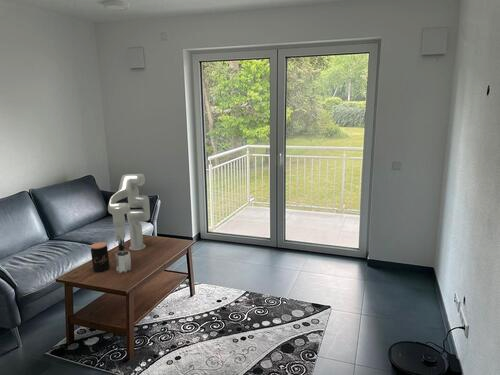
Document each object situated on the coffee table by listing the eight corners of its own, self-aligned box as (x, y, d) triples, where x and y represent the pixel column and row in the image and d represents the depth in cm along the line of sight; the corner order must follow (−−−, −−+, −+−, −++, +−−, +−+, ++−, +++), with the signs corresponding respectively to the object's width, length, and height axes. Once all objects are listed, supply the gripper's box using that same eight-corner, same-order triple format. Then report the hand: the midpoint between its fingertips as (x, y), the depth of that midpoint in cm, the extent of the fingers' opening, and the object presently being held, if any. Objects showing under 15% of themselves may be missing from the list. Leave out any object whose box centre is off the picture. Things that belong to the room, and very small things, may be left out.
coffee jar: (94, 273, 255) (91, 248, 251) (92, 268, 264) (89, 243, 260) (110, 270, 260) (107, 245, 256) (108, 264, 269) (105, 241, 265)
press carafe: (119, 266, 266) (117, 250, 264) (132, 264, 268) (131, 249, 265) (115, 273, 255) (113, 256, 252) (130, 272, 256) (128, 255, 254)
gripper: (116, 220, 260) (118, 245, 264) (111, 228, 245) (113, 254, 248) (127, 220, 261) (129, 244, 265) (122, 227, 246) (125, 253, 249)
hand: (122, 249), depth 257 cm, fingers closed on plunger, 3 cm apart
